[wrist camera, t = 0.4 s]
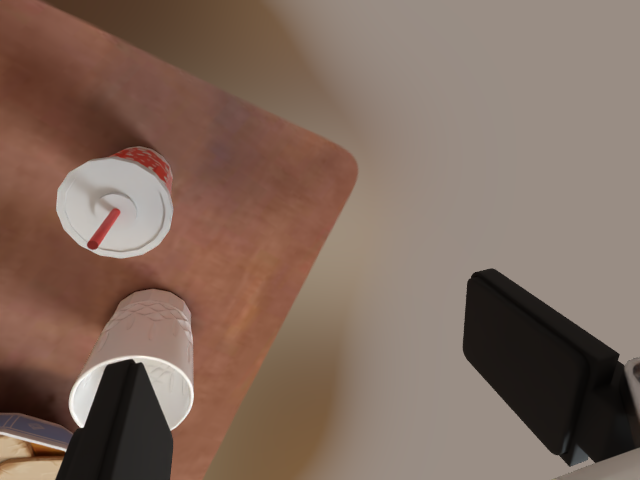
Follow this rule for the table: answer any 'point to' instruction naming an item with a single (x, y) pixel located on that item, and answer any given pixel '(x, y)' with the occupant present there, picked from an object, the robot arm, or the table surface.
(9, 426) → the ramen bowl
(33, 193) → the table surface
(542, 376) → the robot arm
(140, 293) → the white cup
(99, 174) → the beverage cup
